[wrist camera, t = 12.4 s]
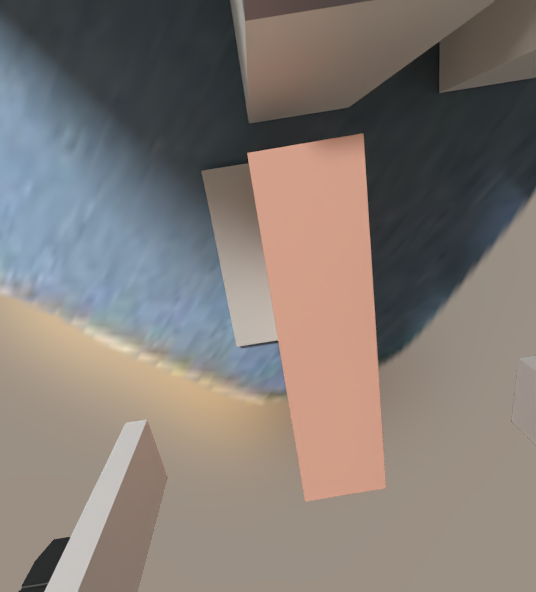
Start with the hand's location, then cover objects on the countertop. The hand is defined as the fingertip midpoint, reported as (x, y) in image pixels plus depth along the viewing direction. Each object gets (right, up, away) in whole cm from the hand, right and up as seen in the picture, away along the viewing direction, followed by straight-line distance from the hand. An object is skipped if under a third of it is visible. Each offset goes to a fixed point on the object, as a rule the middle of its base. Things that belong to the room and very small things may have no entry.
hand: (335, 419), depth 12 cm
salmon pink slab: (-1, +6, +9) cm, 11 cm away
